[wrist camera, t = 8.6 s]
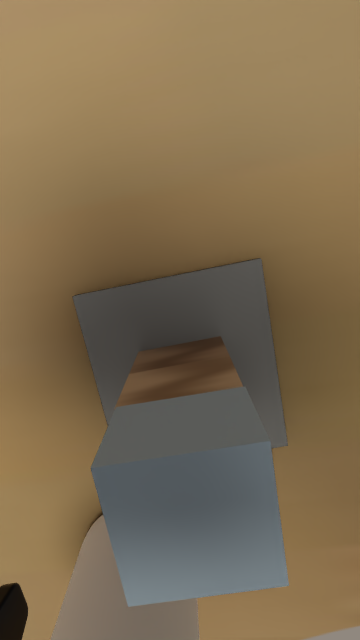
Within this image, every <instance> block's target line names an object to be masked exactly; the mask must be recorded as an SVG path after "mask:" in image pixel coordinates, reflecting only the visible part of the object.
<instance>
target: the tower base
mask: <svg viewBox="0 0 360 640" xmlns="http://www.w3.org/2000/svg"><path fill="white" fill-rule="evenodd" d="M228 355H229V353H228V351H227V349H226V347H225V345H224V342H223V340H222V338H221V336H219V337H213V338H208V339H203V340H198V341H192V342H187V343H182V344H177V345H171V346H166V347H161V348H155V349H150V350H145V351H140V352H138V354H137V356H136V359H135V361H134V364H133V366H132V368H131V371H130V373H129V374H132V373H137V372H143V371H148V370H153V369H159V368H164V367H169V366H175V365H180V364H185V363H191V362H196V361H201V360H207V359H212V358H217V357H223V356H228Z"/></svg>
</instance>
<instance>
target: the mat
mask: <svg viewBox="0 0 360 640" xmlns="http://www.w3.org/2000/svg"><path fill="white" fill-rule="evenodd" d="M73 301H74V304H75V308H76V312H77V315H78V319H79V322H80V326H81V330H82V333H83V337H84V341H85V344H86V348H87V352H88V355H89V359H90V362H91V366H92V370H93V373H94V377H95V381H96V384H97V388H98V392H99V395H100V399H101V403H102V406H103V410H104V413H105V417H106V421H107V424H108V425H109V423H110V421H111V418H112V416H113V413H114V411H115V409H114V408H115V406H116V404H117V401H118V399H119V397H120V394H121V392H122V390H123V387H124V385H125V382H126V380H127V378H128V375H129V373H130V371H131V368H132V366H133V364H134V361H135V359H136V356H137V354H138V352H140V351H145V350H150V349H155V348H161V347H166V346H171V345H177V344H182V343H187V342H192V341H198V340H203V339H208V338H213V337H219V336H221V338H222V340H223V342H224V345H225V347H226V349H227V351H228V353H229V356H230V358H231V360H232V362H233V365H234V367H235V369H236V371H237V374H238V376H239V378H240V380H241V382H242V385H243V387H246V389H247V391H248V394H249V396H250V398H251V400H252V402H253V404H254V407H255V409H256V411H257V413H258V415H259V417H260V420H261V422H262V424H263V426H264V428H265V430H266V433H267V435H268V437H269V439H270V442H271V448H276V447H282V446H288V443H287V436H286V429H285V422H284V415H283V408H282V401H281V394H280V387H279V380H278V373H277V366H276V359H275V352H274V345H273V337H272V330H271V323H270V316H269V309H268V302H267V295H266V288H265V281H264V274H263V267H262V260H261V259H260V258H258V259H253V260H248V261H243V262H238V263H233V264H228V265H223V266H218V267H213V268H208V269H203V270H198V271H193V272H188V273H183V274H178V275H173V276H168V277H163V278H158V279H154V280H149V281H144V282H139V283H134V284H129V285H124V286H119V287H114V288H109V289H104V290H99V291H94V292H89V293H84V294H79V295H75V296H73Z"/></svg>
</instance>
